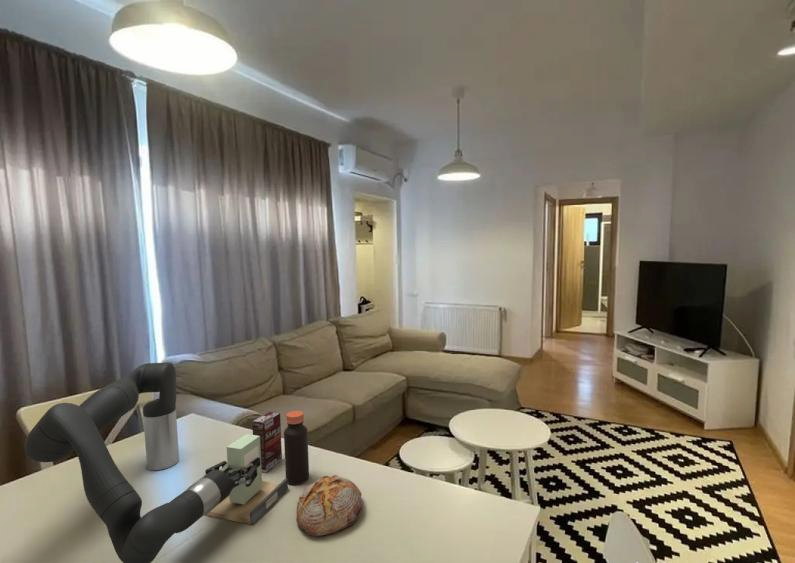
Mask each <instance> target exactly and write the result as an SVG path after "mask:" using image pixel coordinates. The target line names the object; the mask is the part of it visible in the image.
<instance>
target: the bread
mask: <svg viewBox="0 0 795 563" xmlns="http://www.w3.org/2000/svg"><path fill="white" fill-rule="evenodd" d="M362 507H363V498H362V492H361V490H360V489H359V487H358V485H357V484H355V483H354V482H353V481H352V480H350V479H348V478H345V477H342V476H339V475H337V474H334V475H332V476H331V475H330V476H328V475H326V476H323V477H321V478H319V479H318V480H316V481H314V482H312V483H311V484H309V485H308V486H307V487H306V488H305V489H304V490H303V492H302V493H301V494H300V495H299V496H298V501H297V502H296V516H295V517H296V519H295V520H296V524H298V526H299V527H300V529H301V530H302V531H303V532H306V534H307V535H309V536H311V537H322V536H326V535H331V534H334V533H336V532H338V531H342V530H344V529H346V528H348V527H349V526H351V525H353V524H354V523H356V522H357V521H358V519H359V516H360V514H361V512H362Z"/></svg>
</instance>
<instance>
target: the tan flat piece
mask: <svg viewBox="0 0 795 563" xmlns="http://www.w3.org/2000/svg"><path fill="white" fill-rule="evenodd" d="M288 490H289V483H288V479H286V478H284V479H283V480H282V481H281V482H280V483H279V482H272V481H264V480H262V489H260V490H259V491H258V492H257V493H256V494H255V495H254V496H253V497H252V498H251V499H249V500H248V501H247V502H246V503H245V504H239V503H233V502H230V501H229V496H228V497H227V498H226V499H224V500H223V501H222V502H221V503H220V504H218V505H217V506H216V507H215V508H214V509H212V510H211V511H210V512H209V513H207V514H206V515H205V516H208V517H209V516H210V517H214V518H219V519H223V520H227V521H233V522H238V523H244V524H247V525H248V524H249V525H254V524H255V523H256V522H257V521H258V520H260V518H262V516H263V515H264V514H265V513H267V511H269V509H271V507H273V505H274V504H275V503H276V502H277V501H278V500H279V499H280V498H281V497H282V496H283V495H284V494H285V493H286V492H288Z"/></svg>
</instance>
